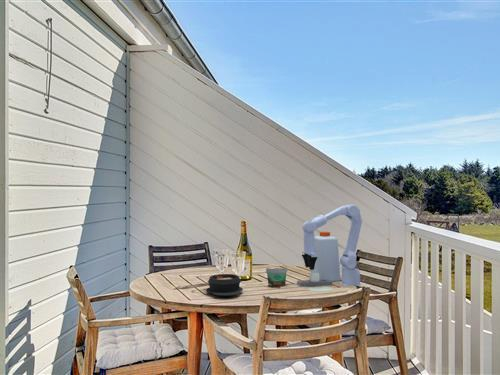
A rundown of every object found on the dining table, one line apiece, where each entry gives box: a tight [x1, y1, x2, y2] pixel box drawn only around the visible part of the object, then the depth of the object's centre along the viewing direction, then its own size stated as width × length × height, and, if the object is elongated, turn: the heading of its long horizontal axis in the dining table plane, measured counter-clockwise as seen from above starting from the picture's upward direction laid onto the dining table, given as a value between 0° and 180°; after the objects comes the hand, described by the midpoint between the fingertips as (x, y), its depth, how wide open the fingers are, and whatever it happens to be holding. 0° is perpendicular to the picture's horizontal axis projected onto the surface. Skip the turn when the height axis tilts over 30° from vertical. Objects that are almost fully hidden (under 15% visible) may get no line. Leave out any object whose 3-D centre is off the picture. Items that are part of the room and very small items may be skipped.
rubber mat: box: [307, 286, 334, 292], centre depth 203 cm, size 12×8×1 cm, turn 98°
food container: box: [265, 266, 289, 288], centre depth 211 cm, size 12×6×10 cm, turn 105°
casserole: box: [205, 273, 244, 297], centre depth 197 cm, size 25×19×8 cm
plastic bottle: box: [310, 231, 342, 282], centre depth 229 cm, size 15×15×28 cm
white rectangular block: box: [309, 272, 319, 282], centre depth 213 cm, size 4×3×6 cm, turn 98°
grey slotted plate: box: [296, 279, 333, 288], centre depth 213 cm, size 18×6×3 cm, turn 98°
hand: (309, 268), depth 213 cm, fingers open, 7 cm apart
